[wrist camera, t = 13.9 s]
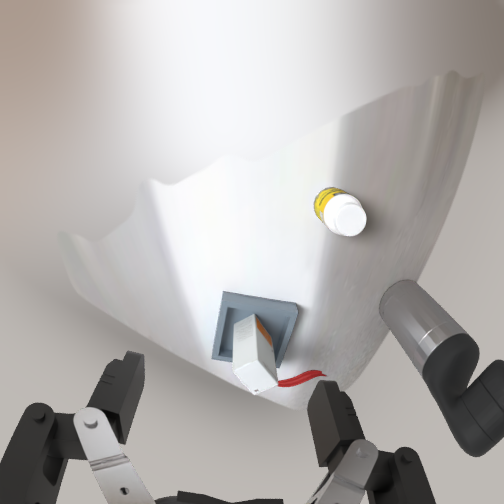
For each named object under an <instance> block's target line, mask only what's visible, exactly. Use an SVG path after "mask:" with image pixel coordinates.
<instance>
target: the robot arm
mask: <svg viewBox="0 0 504 504" xmlns="http://www.w3.org/2000/svg"><path fill="white" fill-rule="evenodd" d="M379 310H380V315H381V317H382V319H383V320H384V321H385V323H386V324H387V326H388V327H389V329H390V330H391V332H392V333H393V335H394V336H395V338H396V339H397V340H398V342H399V343H400V345H401V346H402V348H403V349H404V351H405V352H406V354H407V355H408V357H409V358H410V360H411V361H412V363H413V364H414V366H415V367H416V369H417V370H418V372H419V373H420V375H421V376H422V378H423V379H424V381H425V383H426V384H427V386H428V388H429V390H430V392H431V394H432V396H433V397H434V399H435V401H436V402H437V404H438V406H439V408H440V410H441V412H442V414H443V416H444V418H445V419H446V422H447V424H448V426H449V428H450V430H451V432H452V434H453V436H454V438H455V439H456V441H457V442H458V444H459V445H460V447H461V448H462V449H463V450H464V451H465V452H466V453H467V454H469V455H470V456H473V457H480V456H482V455H484V454H485V453H486V452H488V451H489V450H490V449H491V448H492V447H494V446H495V445H496V444H497V443H498V442H499V441H500V440H501V439H502V438H503V437H504V361H503V360H495V361H494V362H492V363H491V364H490V365H489V366H488V367H487V368H486V369H485V370H484V371H483V372H482V373H481V375H480V376H479V377H478V378H477V379H476V380H475V381H474V382H473V383H472V384H471V385H470V386H469V387H468V388H467V386H468V383H469V381H470V378H471V376H472V374H473V372H474V370H475V368H476V366H477V363H478V360H479V347H478V345H477V344H476V342H475V341H474V340H473V339H472V338H471V337H470V336H469V334H467V332H466V331H465V330H464V329H463V328H462V327H461V326H460V325H459V324H458V323H457V322H456V321H455V320H454V319H453V318H452V317H451V316H450V315H449V314H448V313H447V312H446V311H445V310H444V309H443V308H442V307H441V306H440V305H439V304H438V303H437V302H436V301H435V300H434V299H433V298H432V297H431V296H430V295H429V294H428V293H427V292H426V291H424V290H423V289H422V288H421V287H420V286H419V285H418V284H417V283H416V282H414V281H411V280H403V281H400V282H398V283H396V284H394V285H393V286H391V287H390V288H389V289H388V290H387V291H386V293H385V294H384V295H383V297H382V299H381V302H380V308H379ZM144 372H145V369H144V355H143V354H139V353H136V352H132V351H127V353H126V355H125V357H124V359H123V361H122V360H118V359H114V360H113V361H112V362H110V363H109V364H108V365H107V366H106V368H105V370H104V372H103V375H102V376H101V378H100V381H99V382H98V384H97V386H96V388H95V390H94V392H93V395H92V396H91V399H90V401H89V403H88V405H87V406H86V407H85V408H82V409H80V410H79V411H78V412H76V413H74V414H64V413H54V412H53V410H52V408H51V407H49V406H48V405H46V404H44V403H33V404H31V405H29V406H28V407H27V408H26V410H25V412H24V413H23V415H22V417H21V419H20V421H19V423H18V426H17V427H16V429H15V432H14V434H13V436H12V438H11V440H10V442H9V445H8V447H7V449H6V451H5V453H4V456H3V458H2V460H1V463H0V504H56V500H57V496H58V493H59V489H60V486H61V482H62V479H63V476H64V472H65V469H66V466H67V462H68V459H79V460H88V461H89V464H90V466H91V468H92V471H93V473H94V475H95V478H96V480H97V482H98V484H99V486H100V488H101V490H102V492H103V494H104V496H105V498H106V500H107V502H108V504H283V499H254V500H248V501H242V502H235V503H230V502H226V501H223V500H220V499H216V498H213V497H210V496H207V495H204V494H196V493H190V492H183V491H178V494H177V496H169V497H164V498H159V499H157V500H153V498H152V497H151V495H150V493H149V492H148V491H147V489H146V487H145V486H144V484H143V482H142V481H141V479H140V477H139V476H138V474H137V472H136V470H135V469H134V467H133V465H132V464H131V462H130V460H129V458H128V457H127V456H125V454H124V453H123V451H122V449H121V447H120V445H119V443H120V444H126V441H127V437H128V434H129V431H130V428H131V425H132V421H133V418H134V415H135V412H136V409H137V406H138V403H139V400H140V397H141V394H142V391H143V387H144V379H145V373H144ZM307 411H308V417H309V421H310V426H311V431H312V435H313V440H314V444H315V449H316V454H317V458H318V463H319V467H328V470H329V471H328V473H327V474H326V475H325V477H324V478H323V480H322V481H321V483H320V484H319V486H318V487H317V489H316V491H315V492H314V493H313V495H312V496H311V498H310V499H309V500H308V502H307V503H306V504H360V502H361V500H362V498H363V496H364V494H365V490H366V491H367V495H368V500H369V504H436V502H435V499H434V496H433V494H432V491H431V488H430V485H429V482H428V480H427V477H426V474H425V471H424V468H423V466H422V463H421V461H420V458H419V456H418V454H417V452H416V451H414V450H413V449H411V448H409V447H401V448H399V449H398V450H397V451H396V452H395V453H391V452H385V451H380V450H378V449H377V447H376V446H375V445H374V444H373V443H371V442H370V441H368V440H366V439H365V436H364V434H363V431H362V428H361V425H360V422H359V420H358V417H357V416H356V412H355V409H354V407H353V403H352V401H351V399H350V398H349V396H348V395H347V394H346V393H345V392H340V390H339V387H338V385H337V382H336V381H325V380H320V381H319V382H318V384H317V386H316V388H315V390H314V392H313V394H312V396H311V398H310V400H309V402H308V409H307Z"/></svg>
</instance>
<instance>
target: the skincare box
mask: <svg viewBox="0 0 504 504" xmlns="http://www.w3.org/2000/svg"><path fill="white" fill-rule="evenodd" d="M232 371H233V373H234V374H235V375H236V376H237V377H238V378H239V379H240V381H241V382H242V383H243V385H244V386H246V387H247V388H248V389H249V390H250V392H251V393H252V394H253V395H256V394H258V393H261V392H263V391H266V390H268V389H270V388H273V387H275V386H277V385H278V378H277V371H276V364H275V356H274V350H273V343H272V337H271V336H270V335H269V333H268V332H267V331H266V329H265V328H264V326H263V325H262V324H261V322H260V321H259V319H258V318H257V316H256V315H255V314H253V315H251V316H249V317H247V318H245V319H243V320H241V321H239V322H237V323H235V324H234V334H233V364H232Z"/></svg>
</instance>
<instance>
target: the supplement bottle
mask: <svg viewBox="0 0 504 504" xmlns="http://www.w3.org/2000/svg"><path fill="white" fill-rule="evenodd" d="M314 211H315V213H316V215H317V217H318V218H319V219H320V220H321V221H322V222H323V223H324V224H325V225H326V226H327V227H328V228H329V229H330V230H331V231H332V232H333V233H335V234H338V235H345V236H355V235H357V234H359V233H360V232H361V231H362V230H363V229H364V227H365V225H366V214H365V212H364V210H363V208H362V205H361V204H360V202H359V201H358V200H357V199H356V198H355V197H354V196H352V195H350V194H348V193H346V192H344V191H342V190H340V189H338V188H335V187H328V188H325V189H323V190H321V191H320V192H319V193H318V194H317V195H316V197H315V199H314Z"/></svg>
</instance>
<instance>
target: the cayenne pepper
mask: <svg viewBox="0 0 504 504" xmlns="http://www.w3.org/2000/svg"><path fill="white" fill-rule="evenodd" d="M321 372H322V371H318V370H311V371H307V372H304V373H302V374H300V375H298V376H296V377H293V378H290V379H286V380H281V381H278V385H277V386H279V387H291V386H295V385H299V384H301V383H303V382H306V381H308V380H310V379H312V378H315V377H317V376H326V375H324V374H322V373H321Z"/></svg>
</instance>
